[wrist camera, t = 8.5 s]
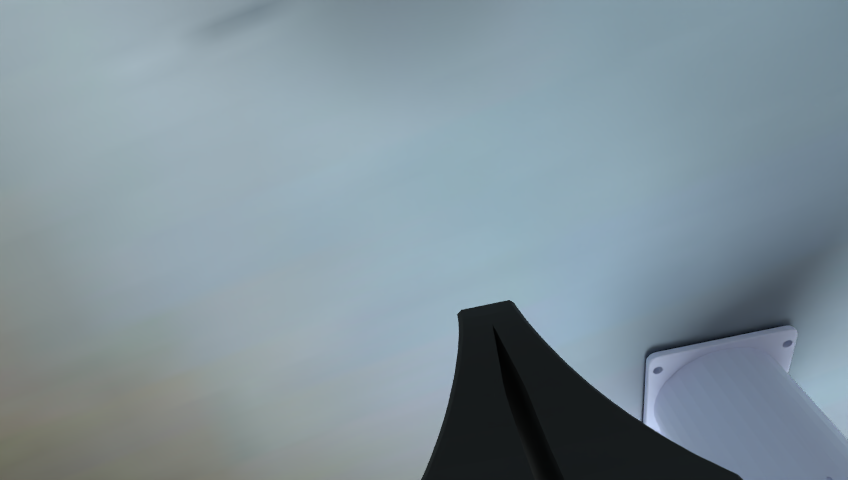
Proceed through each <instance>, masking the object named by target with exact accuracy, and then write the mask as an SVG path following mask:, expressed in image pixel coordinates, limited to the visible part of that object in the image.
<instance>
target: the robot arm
mask: <svg viewBox="0 0 848 480" xmlns="http://www.w3.org/2000/svg"><path fill="white" fill-rule="evenodd" d="M457 316H458V322H459V343H458V354H457V361H456V368H455V375H454V380H453V384H452V389H451V394H450V398H449V403H448V406H447V410H446V414H445V417H444V421H443V424H442V427H441V430H440V433H439V436H438V439H437V442H436V445H435V447H434V450H433V453H432V455H431V458H430V461H429V463H428V465H427V468H426V470H425V473H424V475H423V477H422V479H421V480H848V439H847V438H846V437H845V436H844V435H843V434H842V433H841V431H840V430H839V429H838V428H837V427H836V426H835V425H834V424H833V423H832V422H831V420H830V419H829V418H828V417H827V416H826V415H825V414H824V413H823V412H822V410H821V409H820V408H819V407H818V406H817V405H816V404H815V403H814V402H813V401H812V399H811V398H810V397H809V396H808V395H807V394H806V393H805V392H804V391H803V389H802V388H801V387H800V386H799V385H798V384H797V383H796V382H795V381H794V379H793V378H792V377H791V376H790V375H789V374H788V373H789V369H790V365H791V361H792V357H793V352H794V348H795V344H796V340H797V336H798V331H797V330H796V329H795V328H794V327H793V326H790V325H787V326H781V327H776V328H772V329H767V330H762V331H757V332H752V333H747V334H742V335H737V336H733V337H728V338H723V339H718V340H713V341H708V342H703V343H698V344H693V345H689V346H684V347H679V348H674V349H669V350H664V351H659V352H655V353H652V354H651V355H649V356H648V358H647V360H646V375H645V395H644V416H643V423H642V422H641V421H639V420H638V419H636V418H634V417H633V416H631V415H630V414H629V413H627V412H626V411H624V410H623V409H622V408H620V407H619V406H617V405H616V404H615V403H613V402H612V401H611V400H609V399H608V398H607V397H605V396H604V395H603V394H602V393H600V392H599V391H598V390H597V389H595V388H594V387H593V386H592V385H590V384H589V383H588V382H587V381H586V380H585V379H583V378H582V377H581V376H580V375H579V374H578V373H577V372H576V371H575V370H573V369H572V368H571V367H570V366H569V365H568V364H567V363H566V362H565V361H564V360H563V359H562V358H561V357H560V356H559V355H558V354H557V353H556V352H555V351H554V350H553V349H552V348H551V347H550V346H549V345H548V344H547V343H546V342H545V341H544V340H543V339H542V338H541V336H540V335H539V334H538V333H537V332H536V331H535V330H534V328H533V327H532V326H531V325H530V324H529V322H528V321H527V320H526V319H525V318H524V316H523V315H522V314H521V312H520V311H519V310H518V308H517V307H516V305H515V304H514V303H513V302H512V301H510V300H507V301H503V302H498V303H493V304H488V305H483V306H478V307H474V308H469V309H464V310H461V311H460V312H459V313H458V314H457ZM656 367H657V368H656Z"/></svg>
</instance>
